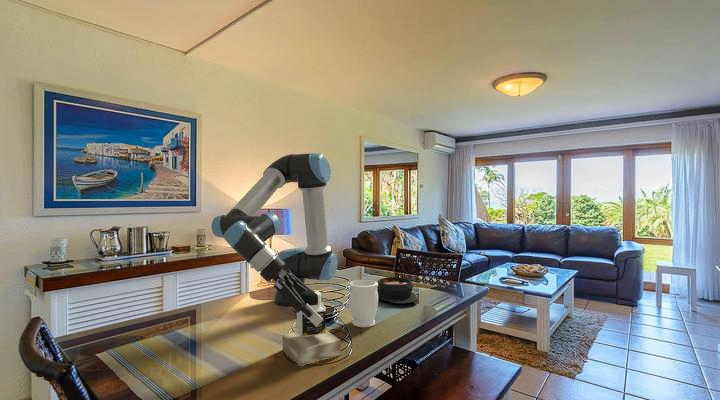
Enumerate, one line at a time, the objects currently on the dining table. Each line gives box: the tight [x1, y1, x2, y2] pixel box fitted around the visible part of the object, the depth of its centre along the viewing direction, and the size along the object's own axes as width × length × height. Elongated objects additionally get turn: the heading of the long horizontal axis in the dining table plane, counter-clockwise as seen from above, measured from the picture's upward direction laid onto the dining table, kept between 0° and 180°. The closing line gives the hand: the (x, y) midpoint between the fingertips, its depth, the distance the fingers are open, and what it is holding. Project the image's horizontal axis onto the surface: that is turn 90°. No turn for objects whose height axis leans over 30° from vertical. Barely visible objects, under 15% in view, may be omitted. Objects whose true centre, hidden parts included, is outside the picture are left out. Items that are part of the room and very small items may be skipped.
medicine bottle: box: [296, 289, 327, 337], centre depth 107 cm, size 7×7×12 cm
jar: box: [349, 279, 379, 328], centre depth 131 cm, size 11×10×15 cm
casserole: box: [377, 276, 418, 305], centre depth 161 cm, size 25×19×8 cm
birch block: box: [282, 329, 342, 367], centre depth 107 cm, size 13×13×5 cm
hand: (321, 317), depth 107 cm, fingers closed on medicine bottle, 9 cm apart
